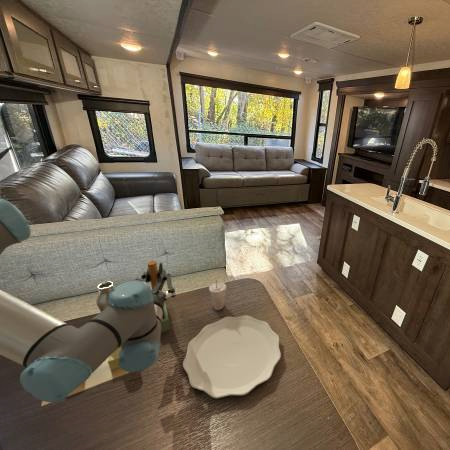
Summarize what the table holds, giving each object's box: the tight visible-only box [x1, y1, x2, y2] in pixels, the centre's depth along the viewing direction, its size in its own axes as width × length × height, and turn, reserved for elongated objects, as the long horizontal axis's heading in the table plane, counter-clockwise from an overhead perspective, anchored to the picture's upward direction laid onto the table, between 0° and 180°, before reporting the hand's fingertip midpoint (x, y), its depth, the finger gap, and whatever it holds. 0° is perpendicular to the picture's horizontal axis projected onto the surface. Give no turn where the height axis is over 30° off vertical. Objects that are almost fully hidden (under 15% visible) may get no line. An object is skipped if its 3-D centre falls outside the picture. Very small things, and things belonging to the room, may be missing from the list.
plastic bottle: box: [95, 281, 116, 313], centre depth 79 cm, size 6×7×20 cm
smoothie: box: [208, 277, 227, 311], centre depth 96 cm, size 6×6×14 cm
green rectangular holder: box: [161, 301, 171, 334], centre depth 88 cm, size 12×4×6 cm, turn 33°
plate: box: [182, 315, 282, 399], centre depth 79 cm, size 29×29×2 cm
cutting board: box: [40, 358, 130, 408], centre depth 69 cm, size 11×18×2 cm, turn 123°
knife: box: [146, 260, 159, 290], centre depth 82 cm, size 8×3×17 cm, turn 33°
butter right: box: [108, 346, 121, 370], centre depth 72 cm, size 4×4×4 cm
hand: (155, 267), depth 86 cm, fingers closed on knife, 3 cm apart
